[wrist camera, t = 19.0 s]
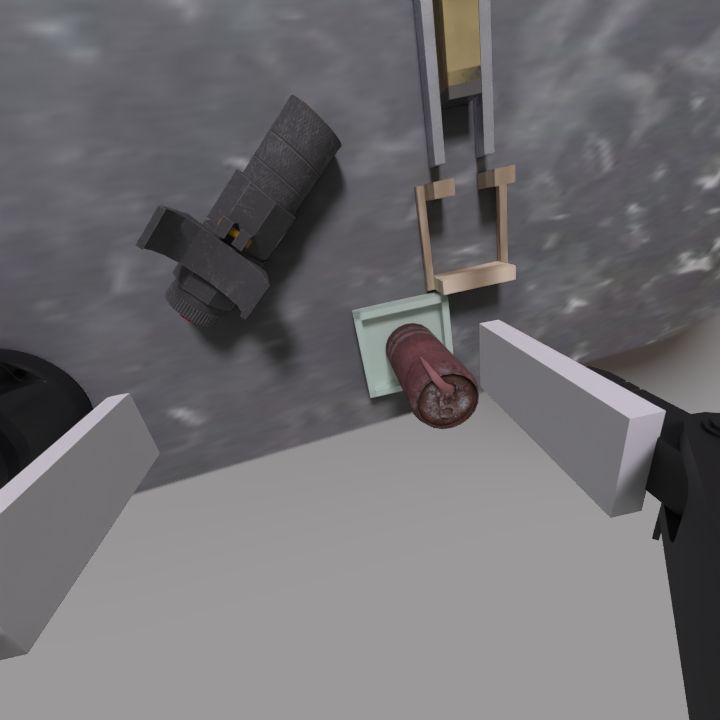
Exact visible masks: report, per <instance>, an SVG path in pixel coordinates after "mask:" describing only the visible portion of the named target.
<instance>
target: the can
mask: <svg viewBox="0 0 720 720" xmlns="http://www.w3.org/2000/svg"><path fill="white" fill-rule="evenodd" d="M386 355H387V357H388V360H389V362H390V364H391V366H392V368H393V370H394V373H395V375H396V377H397V379H398V381H399V383H400V385H401V387H402V390H403V392H404V394H405V396H406V398H407V400H408V402H409V405H410V407H411V409H412V411H413V413H414V415H415V416H416V417H417V418H418V419H419V420H420V421H422V422H424V423H425V424H427V425H429V426H431V427H433V428H439V429H446V428H452V427H455V426H458V425H460V424H462V423H463V422H464V421H466V420H467V419H469V417H470V416H471V415H472V413H473V412H474V411H475V409H476V406H477V404H478V397H479V393H478V386H477V382H476V379H475V378H474V377H473V375H472V374H471V373H470V372H469V371H468V370H467V369H466V368H465V367H464V365H463V364H462V363H461V362H460V361H459V360H458V359H457V358H456V357H455V356H454V355H453V354H452V353H451V352H450V351H449V350H448V349H447V348H446V347H445V346H444V345H443V344H442V343H441V342H440V341H439V339H438V338H437V337H436V336H435V335H434V334H433V333H432V332H431V331H430V330H429V329H428V328H426V327H425V326H423V325H421V324H416V323H409V324H404V325H402V326H400V327H398V328H397V329H396V330H394V331H393V332H392V333H391V335H390V336H389V338H388V340H387V343H386Z"/></svg>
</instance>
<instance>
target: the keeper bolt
mask: <svg viewBox="0 0 720 720" xmlns="http://www.w3.org/2000/svg"><path fill="white" fill-rule="evenodd" d="M432 4H433V17H434V29H435V42H436V54H437V67H438V79H439V91H440V104H441V109H444V108H449V107H453V106H458V105H463V104H468V103H470V102H471V101H472V100H473V99H475V98H476V97H477V96H478V95H480V94H481V93H482V85H481V60H480V34H479V8H478V0H432Z"/></svg>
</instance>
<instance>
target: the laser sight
mask: <svg viewBox="0 0 720 720" xmlns="http://www.w3.org/2000/svg"><path fill="white" fill-rule="evenodd" d="M340 147H341V142H340V140H339V139H338V137H337V136H336V135H335V133H334V132H333V131H332V129H331V128H330V127H329V126H328V125H327V124H326V123H325V122H324V120H323V119H322V118H321V117H320V116H319V115H318V114H317V113H316V112H315V111H314V110H312V109H311V108H310V107H309V106H308V105H307V104H306V103H304V102H303V101H302V100H301V99H299V98H298V97H296V96H294V95H291V96H290V98H289V100H288V101H287V103H286V105H285V106H284V108H283V109H282V111H281V113H280V114H279V116H278V117H277V119H276V121H275V122H274V124H273V125H272V127H271V128H270V131H268V133H267V135H266V136H265V138H264V140H263V141H262V143H261V145H260V146H259V148H258V149H257V151H256V152H255V155H253V157H252V159H251V160H250V162H249V164H248V165H247V167H246V169H245V170H244V172H243V173H242V172H241V171H239V170H237V169H236V171H235V173H234V174H233V176H232V177H231V179H230V181H229V182H228V184H227V185H226V187H225V189H224V190H223V192H222V193H221V195H220V197H219V198H218V200H217V202H216V203H215V205H214V206H213V208H212V210H211V211H210V213H209V214H208V216H207V217H208V218H209V219H210V220H205V221H204V222H203V224H201V223H199V222H198V221H197V220H195V219H194V218H193V217H191V216H190V215H189V214H186V213H183V212H180V211H177V210H174V209H171V208H168V207H165V206H162V205H158V207H157V209H156V210H155V212H154V214H153V216H152V217H151V219H150V221H149V223H148V224H147V226H146V228H145V230H144V231H143V233H142V235H141V237H140V238H139V240H138V242H137V244H136V246H137V247H139V248H140V249H142V250H143V248H144V249H148V250H152V251H155V252H158V253H160V254H163V255H165V256H167V257H169V258H171V259H173V260H175V261H177V262H179V263H178V264H177V266H176V268H175V269H174V271H173V272H172V273H173V275H174V276H175V277H176V279H175V281H174V282H172V283H171V285H170V287H169V288H168V290H167V291H166V293H165V299H166V300H167V302H168V304H169V305H170V306H171V307H172V308H173V309H174V310H176V311H177V312H178V313H179V314H180V315H181V316H182V317H183V318H185V319H186V320H188V321H190V322H194V323H197V324H200V325H203V326H204V325H205V326H208V327H209V326H210V327H215V326H218V325H219V324H220V323H221V321H222V320H223V318H224V317H225V315H226V312H227V311H231V310H232V309H233V308H234V307H235V306H236V304H237V306H238V307H239V309H240V310H241V312H242V314H241V315H240V316H241V317H242V318H244V319H245V320H246V318H247V317H248V315H249V314H250V313H251V311H252V310H253V308H254V307H255V306H256V304H257V303H258V301H259V300H260V299H261V297H262V296H263V294H264V293H265V292H266V290H267V289H268V287H269V286H270V284H269V281H268V277H267V273H266V272H265V271H264V270H263V269H261V268H262V267H263V266H264V264H265V263H266V261H267V260H268V258H269V257H270V255H271V254H272V253H273V251H274V250H275V248H276V247H277V245H278V244H279V243H280V241H281V240H282V238H283V237H284V235H285V234H286V233H287V231H288V230H289V228H290V227H291V225H292V224H293V222H294V221H295V220H296V218H297V217H296V216H294V213H295V212H296V210H297V209H298V207H299V206H300V204H301V203H302V202H303V201H304V198H306V196H307V195H308V193H309V192H310V190H311V189H312V187H313V186H314V184H315V183H316V182H317V180H318V179H319V177H320V176H321V175H322V173H323V172H324V170H325V168H326V167H327V166H328V164H329V163H330V161H331V160H332V158H333V157H334V155H335V154H336V153H337V151H338V150H339V148H340Z"/></svg>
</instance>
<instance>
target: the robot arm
mask: <svg viewBox="0 0 720 720" xmlns="http://www.w3.org/2000/svg"><path fill="white" fill-rule="evenodd" d="M480 380H481V388H482V389H483V390H484V391H485V392H486V393H487V394H488V395H489V396H490V397H491V398H492V399H493V400H494V401H495V402H496V403H497V404H498V405H499V406H500V407H501V408H502V409H503V410H504V411H505V412H506V413H507V414H508V415H509V416H510V417H511V418H512V419H513V420H514V421H515V422H516V423H517V424H518V425H519V426H520V427H521V428H522V429H523V430H524V431H525V432H526V433H527V434H528V435H529V436H530V437H531V438H532V439H533V440H534V441H535V442H536V443H537V444H538V445H539V446H540V447H541V448H542V449H543V450H544V451H545V452H546V453H547V454H548V455H549V456H550V457H551V458H552V459H553V460H554V461H555V462H556V463H557V464H558V465H559V466H560V467H561V468H562V469H563V470H564V471H565V472H566V473H567V474H568V475H569V476H570V477H571V478H572V479H573V480H574V481H575V482H576V483H577V484H578V485H579V486H580V487H581V488H582V489H583V490H584V491H585V492H586V494H587V495H589V497H591V499H592V500H594V501H595V503H596V504H597V505H598V506H599V507H600V508H601V509H602V510H603V511H604V512H605V513H606V514H607V515H609V517H611V518H612V517H616V516H620V515H624V514H629V513H633V512H637V511H641V510H642V506H643V502H644V498H645V494H646V490H647V491H648V492H649V493H651V494H652V495H653V496H654V497H656V498H657V499H658V500H659V501H660V502H662V503H661V507H660V511H659V514H658V518H657V521H656V525H655V529H654V533H653V537H652V539H656V540H659V537H660V534H661V533H662V540H663V546H664V553H665V560H666V567H667V573H668V580H669V586H670V593H671V600H672V607H673V613H674V619H675V627H676V634H677V640H678V647H679V654H680V660H681V667H682V674H683V680H684V687H685V693H686V700H687V707H688V714H689V720H720V413H709V412H703V413H696V414H690V413H688V412H685V411H684V410H682V409H680V408H678V407H676V406H674V405H672V404H670V403H668V402H666V401H664V400H663V399H660V398H659V397H657V396H655V395H653V394H651V393H649V392H647V391H645V390H643V389H642V390H640V389H639V387H637V386H635V385H634V384H631V383H630V382H627V383H626V381H625V380H624V379H622V378H620V377H618V376H616V375H614V374H612V373H610V372H608V371H604V370H601V369H597V368H594V367H590V366H587V367H584V366H583V365H581V364H579V363H577V362H575V361H574V360H572V359H570V358H568V357H566V356H564V355H563V354H561V353H559V352H557V351H555V350H553V349H551V348H550V347H548V346H546V345H544V344H542V343H540V342H539V341H537V340H535V339H533V338H531V337H529V336H528V335H526V334H524V333H522V332H520V331H518V330H517V329H515V328H513V327H511V326H509V325H507V324H506V323H504V322H502V321H500V320H495V321H490V322H485V323H480ZM159 454H160V453H159V451H158V449H157V447H156V445H155V443H154V441H153V439H152V437H151V435H150V433H149V431H148V429H147V427H146V425H145V423H144V421H143V419H142V417H141V415H140V413H139V411H138V409H137V407H136V405H135V403H134V401H133V399H132V397H131V395H130V393H126V394H121V395H116V396H111V397H107V398H106V399H105V400H104V401H103V402H102V403H100V404H99V405H98V406H97V407H96V408H95V409H93V410H92V409H91V406H90V403H89V401H88V399H87V397H86V395H85V394H84V392H83V391H82V389H81V388H80V387H79V385H78V384H77V383H76V382H75V381H74V380H73V379H72V378H71V377H70V376H69V375H67V374H66V373H65V372H64V371H62V370H61V369H60V368H58V367H56V366H55V365H53V364H51V363H50V362H48V361H46V360H44V359H41V358H39V357H36V356H34V355H31V354H27V353H24V352H19V351H14V350H4V349H0V660H2V659H7V658H11V657H15V656H19V655H23V654H28V652H29V651H30V649H31V648H32V646H33V644H34V643H35V641H36V640H37V638H38V637H39V635H40V634H41V632H42V631H43V629H44V628H45V626H46V625H47V623H48V622H49V620H50V619H51V617H52V616H53V614H54V613H55V611H56V610H57V608H58V607H59V605H60V604H61V602H62V601H63V599H64V598H65V596H66V595H67V593H68V591H69V590H70V589H71V587H72V586H73V584H74V582H75V581H76V579H77V578H78V576H79V575H80V573H81V572H82V570H83V569H84V567H85V566H86V564H87V563H88V561H89V560H90V558H91V557H92V555H93V554H94V552H95V551H96V549H97V548H98V546H99V545H100V543H101V542H102V540H103V539H104V537H105V535H106V534H107V533H108V531H109V529H110V528H111V527H112V525H113V524H114V522H115V521H116V519H117V518H118V516H119V514H120V513H121V511H122V510H123V508H124V507H125V505H126V504H127V502H128V501H129V499H130V498H131V496H132V495H133V493H134V492H135V490H136V489H137V487H138V486H139V484H140V483H141V481H142V480H143V478H144V477H145V475H146V474H147V472H148V471H149V469H150V468H151V466H152V465H153V463H154V462H155V460H156V459H157V457H158V456H159Z"/></svg>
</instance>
